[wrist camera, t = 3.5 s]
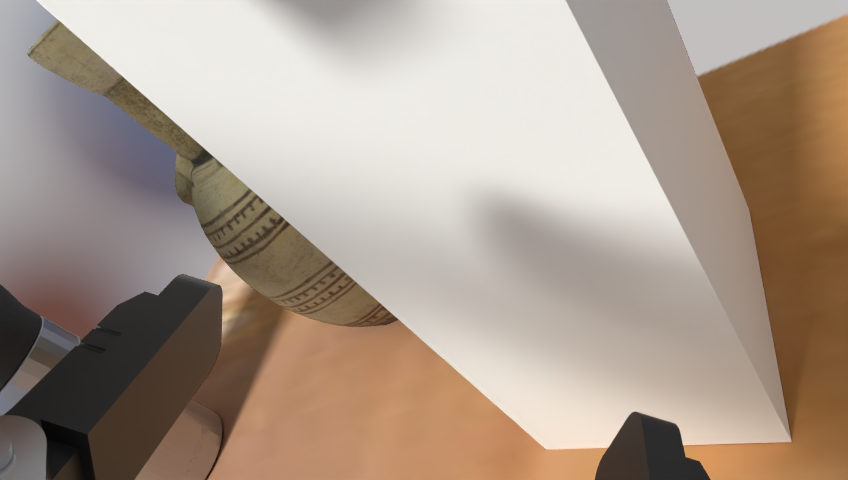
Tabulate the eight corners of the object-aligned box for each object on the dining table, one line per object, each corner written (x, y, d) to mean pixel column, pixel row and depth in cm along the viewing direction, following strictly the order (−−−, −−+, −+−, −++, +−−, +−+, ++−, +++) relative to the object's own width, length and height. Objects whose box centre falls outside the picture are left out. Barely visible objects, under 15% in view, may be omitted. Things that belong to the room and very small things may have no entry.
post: (546, 449, 33) (-24, -52, 15) (560, 253, 41) (211, -220, 23) (791, 441, 26) (312, -494, 8) (749, 210, 35) (469, -502, 16)
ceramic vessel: (505, 137, 54) (276, -191, 37) (500, 329, 40) (129, -56, 23) (349, 207, 64) (108, -31, 46) (301, 382, 50) (-70, 135, 32)
